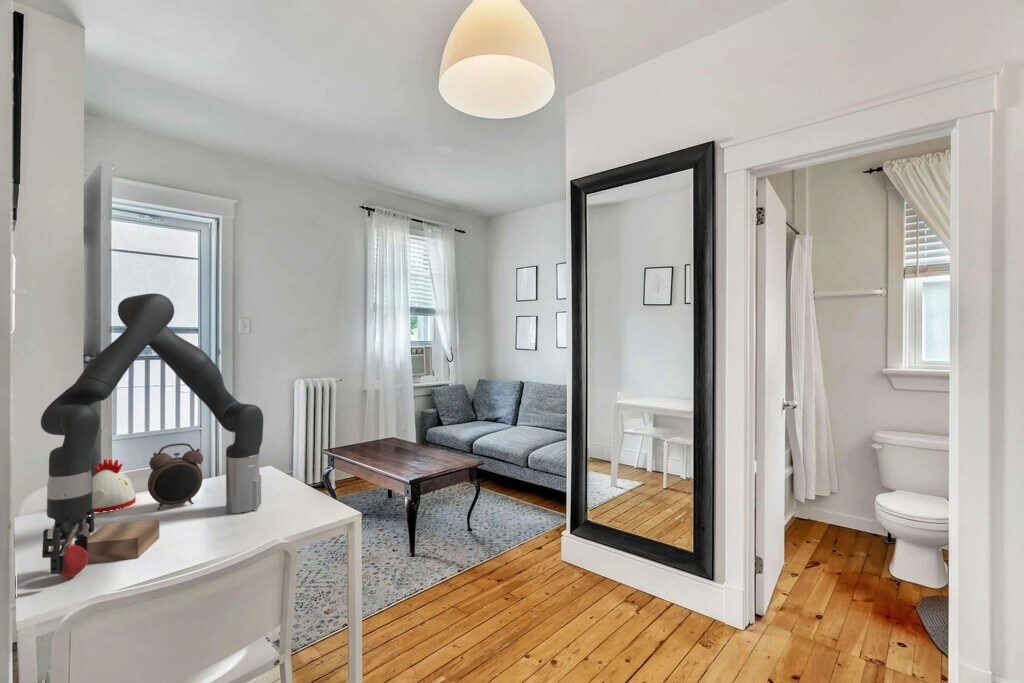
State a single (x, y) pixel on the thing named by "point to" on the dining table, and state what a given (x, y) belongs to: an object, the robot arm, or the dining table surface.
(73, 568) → the onion
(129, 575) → the dining table surface
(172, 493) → the alarm clock
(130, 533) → the walnut base
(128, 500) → the kitchen timer
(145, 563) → the dining table surface
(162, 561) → the dining table surface
